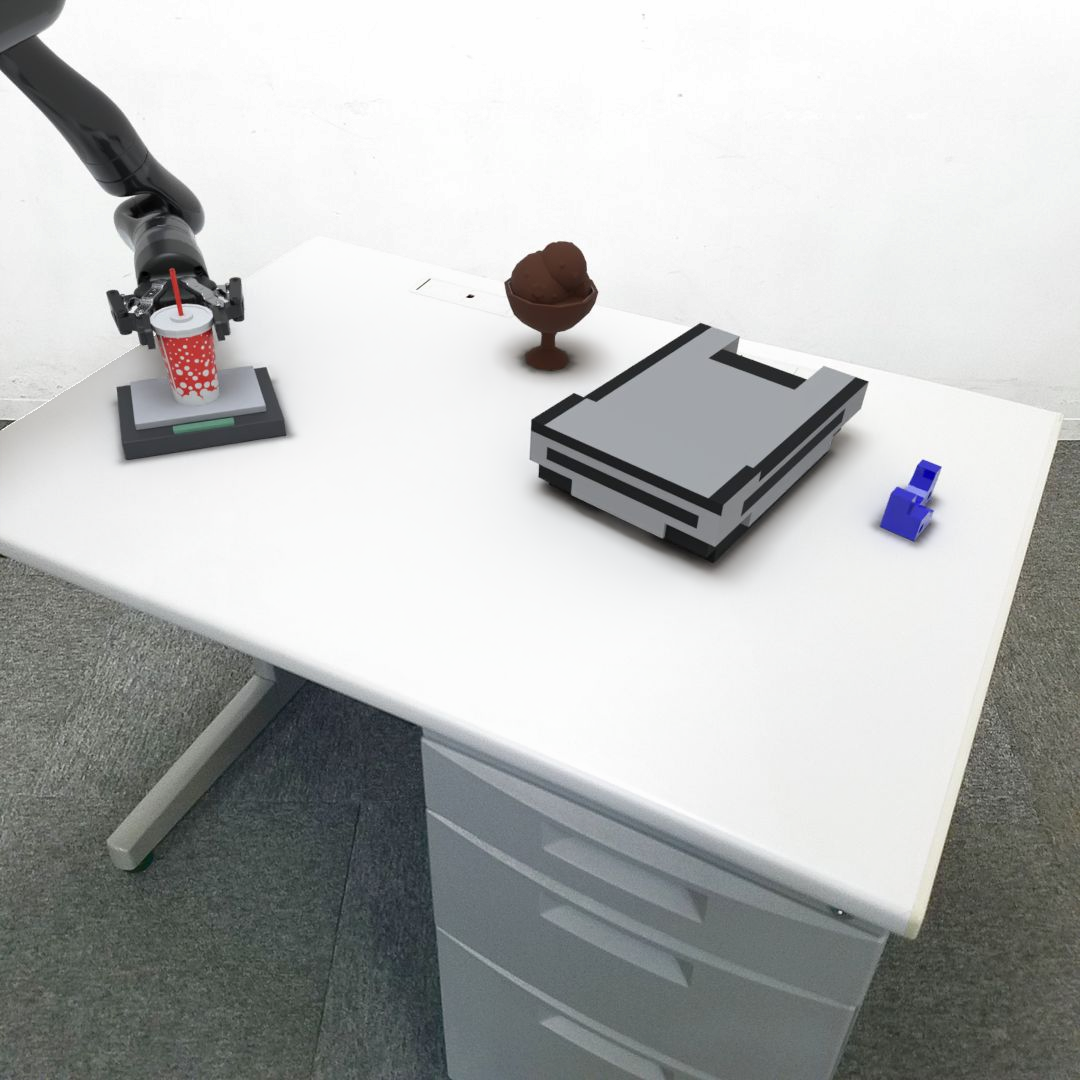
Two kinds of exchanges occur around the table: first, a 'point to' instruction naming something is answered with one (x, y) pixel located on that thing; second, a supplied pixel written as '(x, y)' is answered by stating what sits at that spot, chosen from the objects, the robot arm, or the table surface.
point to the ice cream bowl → (551, 298)
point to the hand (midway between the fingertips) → (186, 336)
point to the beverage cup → (187, 349)
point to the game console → (693, 439)
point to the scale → (198, 414)
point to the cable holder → (912, 503)
